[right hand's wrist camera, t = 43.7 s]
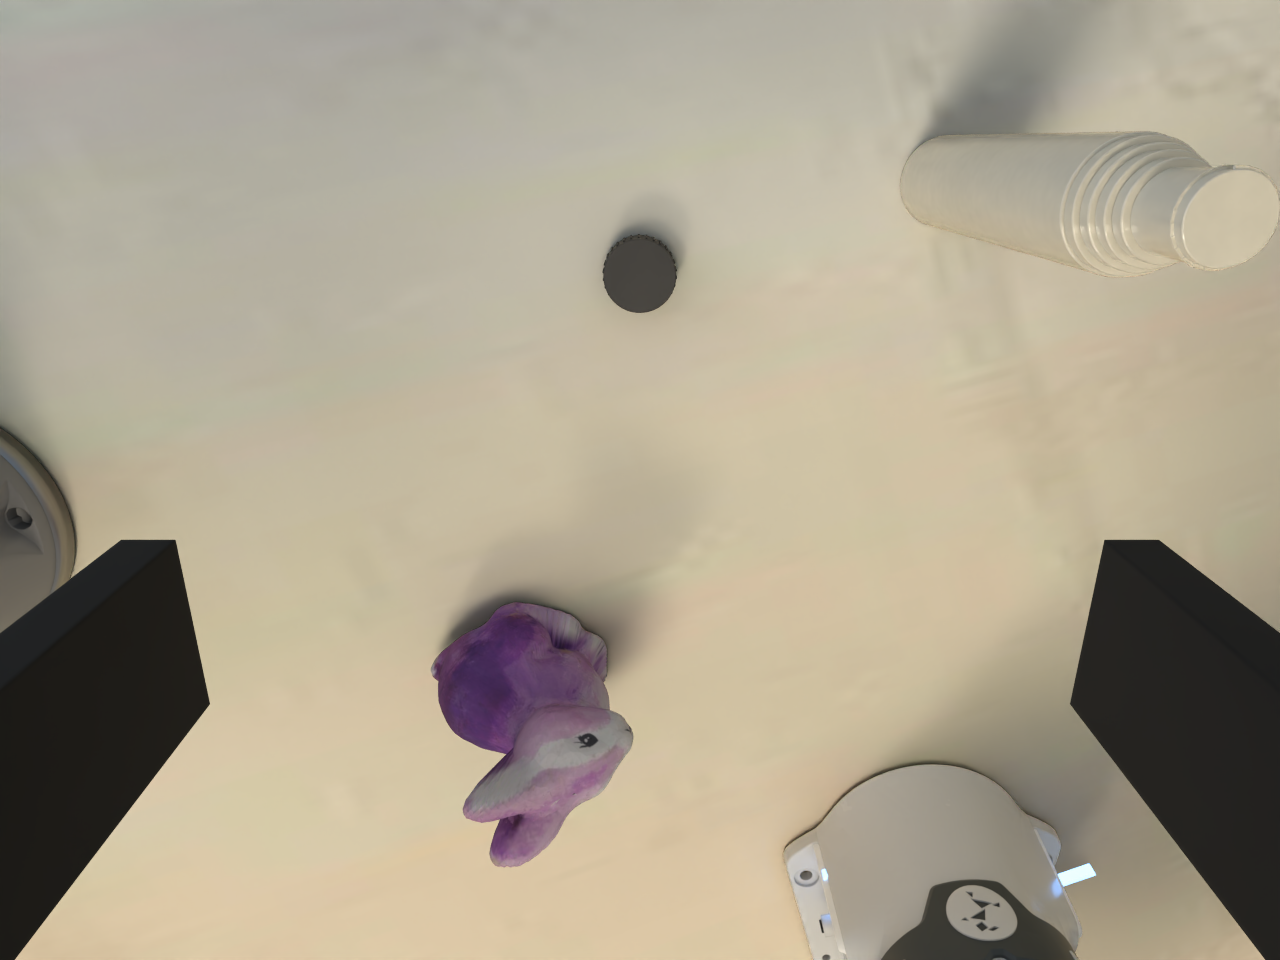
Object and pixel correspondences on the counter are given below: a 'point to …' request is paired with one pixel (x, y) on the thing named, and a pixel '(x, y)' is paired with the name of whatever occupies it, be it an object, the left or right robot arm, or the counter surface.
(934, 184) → the bottle
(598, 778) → the figurine
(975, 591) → the counter surface
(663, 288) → the cap
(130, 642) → the right robot arm
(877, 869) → the left robot arm
